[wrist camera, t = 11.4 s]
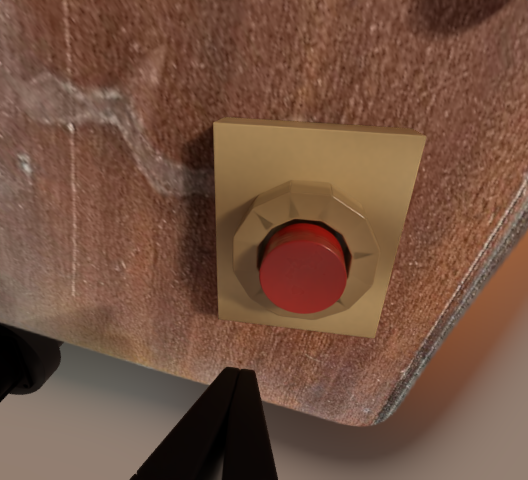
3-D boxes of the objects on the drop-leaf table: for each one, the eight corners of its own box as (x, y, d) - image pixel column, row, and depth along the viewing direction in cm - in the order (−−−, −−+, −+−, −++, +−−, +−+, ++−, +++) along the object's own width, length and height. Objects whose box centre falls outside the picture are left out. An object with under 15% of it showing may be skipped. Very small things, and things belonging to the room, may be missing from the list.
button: (337, 295, 16) (339, 319, 14) (262, 286, 16) (257, 309, 14) (349, 226, 14) (354, 245, 12) (265, 219, 14) (260, 236, 13)
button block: (368, 313, 20) (380, 363, 17) (226, 297, 21) (209, 341, 18) (412, 128, 15) (443, 143, 12) (224, 116, 16) (200, 128, 13)
